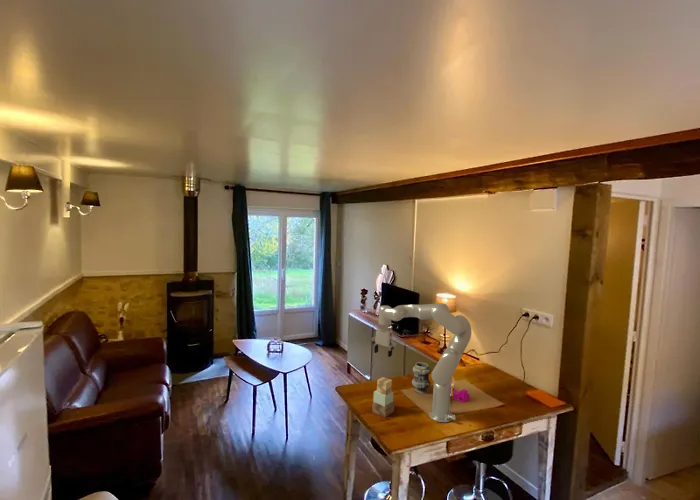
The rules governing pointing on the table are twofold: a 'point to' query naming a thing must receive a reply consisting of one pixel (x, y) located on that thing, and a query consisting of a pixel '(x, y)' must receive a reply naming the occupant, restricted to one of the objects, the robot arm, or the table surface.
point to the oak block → (384, 385)
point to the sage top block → (383, 398)
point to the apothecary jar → (421, 377)
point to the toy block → (461, 395)
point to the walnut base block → (383, 409)
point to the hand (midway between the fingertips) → (382, 354)
